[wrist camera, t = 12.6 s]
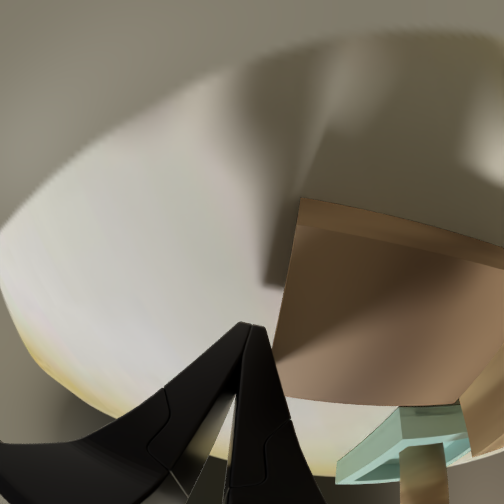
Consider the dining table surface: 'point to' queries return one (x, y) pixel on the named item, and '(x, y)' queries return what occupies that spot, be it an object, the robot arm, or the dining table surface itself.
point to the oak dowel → (423, 475)
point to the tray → (404, 443)
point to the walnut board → (385, 309)
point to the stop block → (486, 407)
